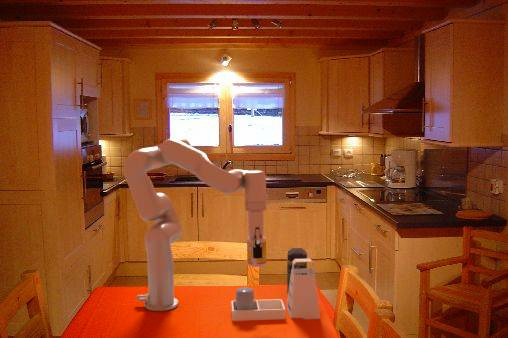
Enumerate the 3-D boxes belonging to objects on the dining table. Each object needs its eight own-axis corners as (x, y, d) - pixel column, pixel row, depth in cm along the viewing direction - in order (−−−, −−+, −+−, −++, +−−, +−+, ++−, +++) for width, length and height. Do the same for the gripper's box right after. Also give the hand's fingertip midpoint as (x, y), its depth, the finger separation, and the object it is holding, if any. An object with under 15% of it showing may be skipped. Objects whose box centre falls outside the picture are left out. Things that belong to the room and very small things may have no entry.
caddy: (232, 322, 183) (232, 311, 182) (231, 311, 192) (231, 300, 192) (285, 320, 184) (285, 309, 184) (281, 309, 194) (281, 299, 193)
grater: (286, 308, 195) (286, 256, 193) (313, 307, 196) (314, 255, 194) (290, 319, 185) (291, 264, 183) (319, 318, 186) (320, 264, 184)
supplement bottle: (268, 262, 188) (268, 227, 187) (263, 268, 182) (262, 232, 181) (251, 261, 191) (250, 226, 189) (245, 266, 184) (244, 231, 183)
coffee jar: (286, 290, 215) (287, 246, 212) (306, 290, 214) (306, 246, 212) (286, 298, 205) (287, 252, 203) (307, 299, 205) (307, 253, 202)
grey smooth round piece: (236, 318, 184) (236, 294, 183) (235, 311, 191) (235, 287, 190) (254, 318, 185) (254, 293, 184) (253, 311, 191) (253, 287, 190)
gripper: (243, 201, 192) (245, 249, 194) (246, 210, 175) (247, 262, 177) (264, 201, 193) (265, 248, 195) (268, 210, 176) (269, 261, 178)
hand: (256, 254), depth 186 cm, fingers closed on supplement bottle, 6 cm apart
